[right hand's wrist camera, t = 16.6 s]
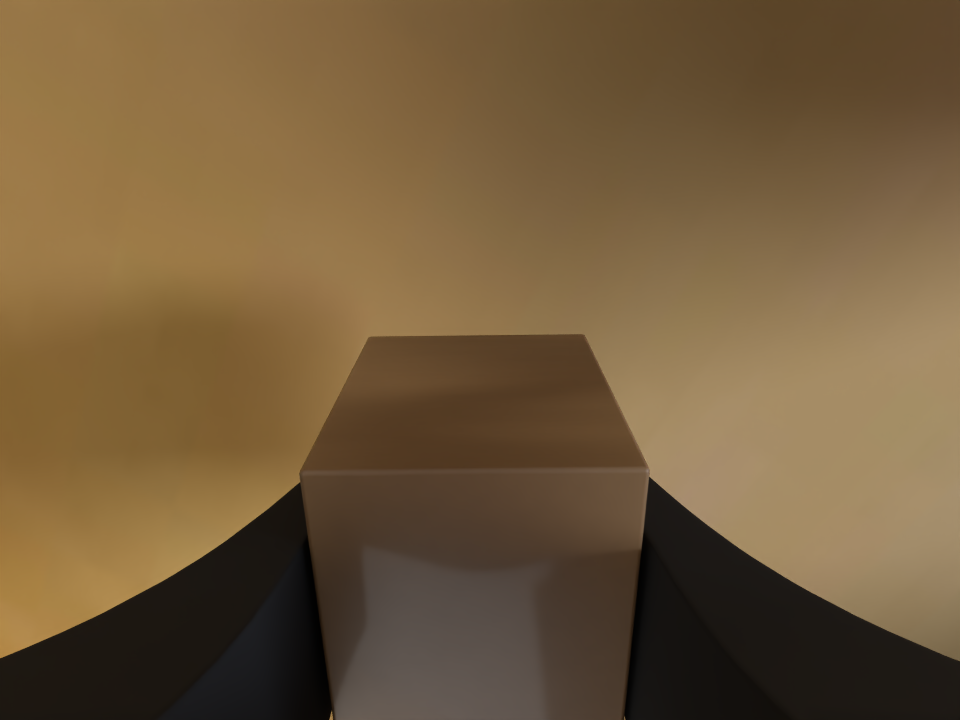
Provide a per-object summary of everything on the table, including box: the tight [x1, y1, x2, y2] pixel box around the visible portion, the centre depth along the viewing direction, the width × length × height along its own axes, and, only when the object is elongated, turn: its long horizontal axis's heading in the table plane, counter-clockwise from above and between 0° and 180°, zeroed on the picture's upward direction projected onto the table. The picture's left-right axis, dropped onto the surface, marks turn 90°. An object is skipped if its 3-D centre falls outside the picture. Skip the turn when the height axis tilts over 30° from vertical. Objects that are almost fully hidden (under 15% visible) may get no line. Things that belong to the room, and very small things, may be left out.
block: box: [299, 334, 650, 720], centre depth 10 cm, size 4×5×5 cm
